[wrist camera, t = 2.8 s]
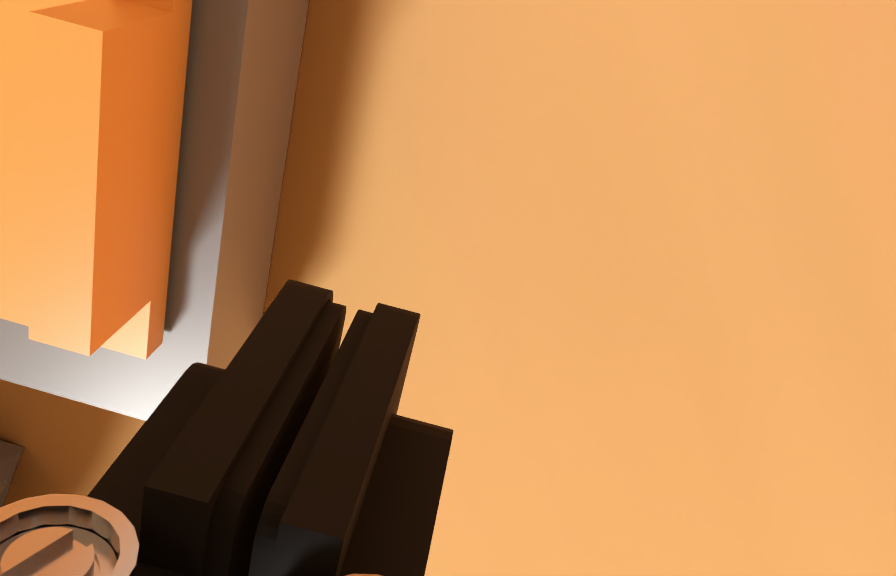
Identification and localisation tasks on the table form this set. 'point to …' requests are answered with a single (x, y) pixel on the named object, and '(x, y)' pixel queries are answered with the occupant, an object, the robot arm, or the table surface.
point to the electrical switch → (8, 466)
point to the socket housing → (201, 213)
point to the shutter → (90, 167)
